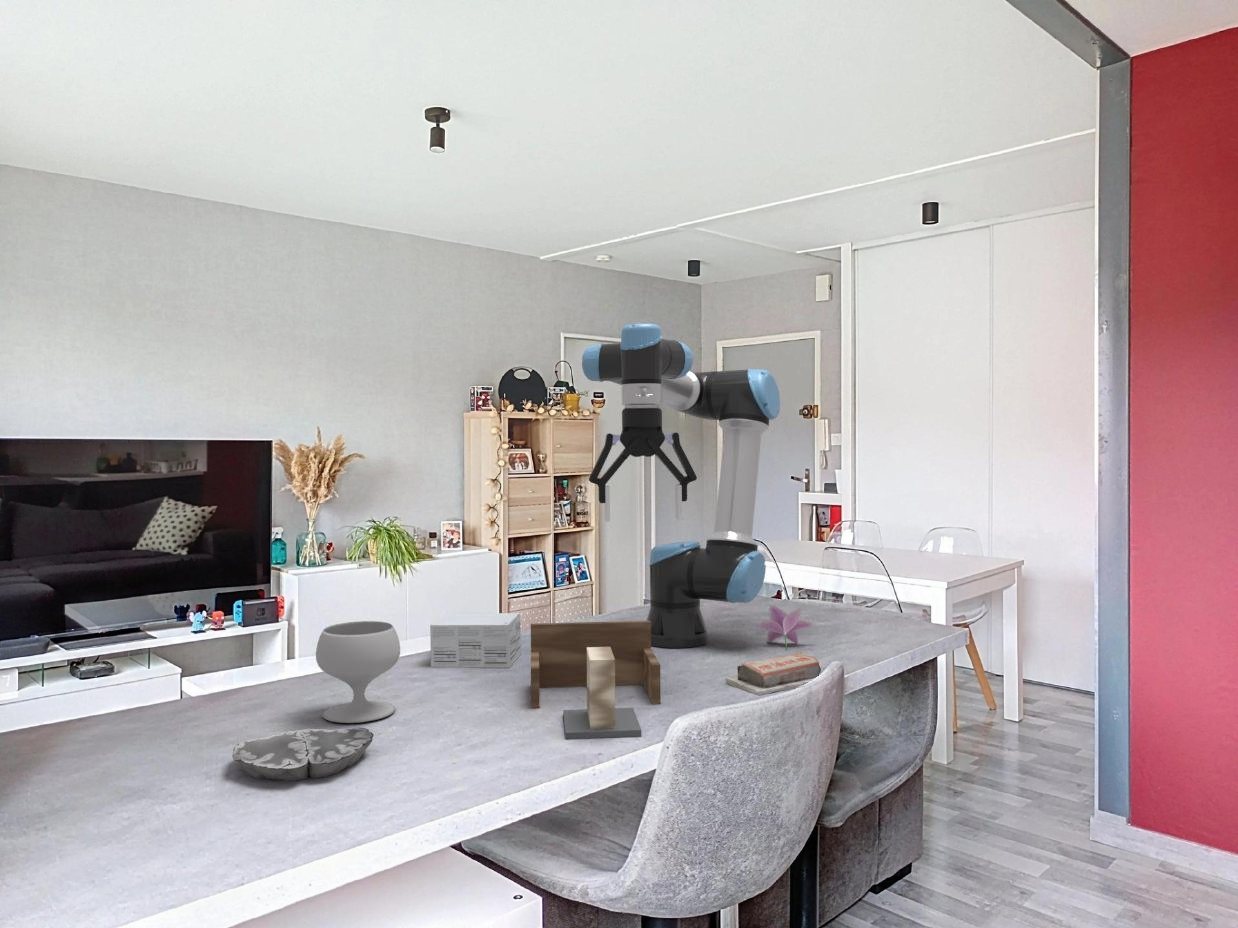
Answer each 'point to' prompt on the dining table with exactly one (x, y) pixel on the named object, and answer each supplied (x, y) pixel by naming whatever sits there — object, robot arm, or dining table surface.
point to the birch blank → (600, 687)
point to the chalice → (358, 665)
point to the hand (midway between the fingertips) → (643, 520)
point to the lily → (784, 624)
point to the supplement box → (475, 640)
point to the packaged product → (775, 674)
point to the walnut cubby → (566, 655)
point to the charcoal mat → (580, 728)
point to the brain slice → (302, 753)
